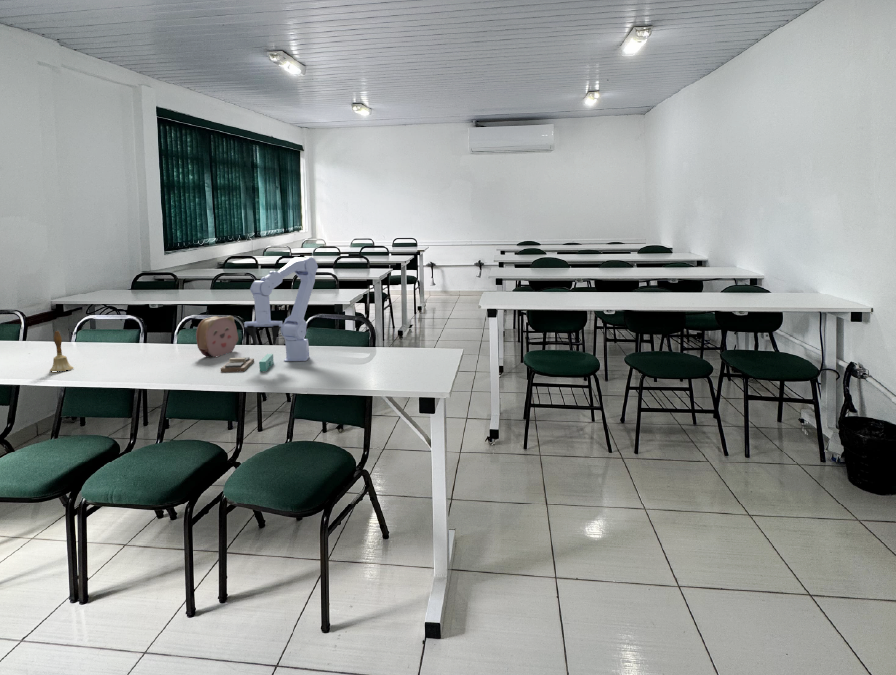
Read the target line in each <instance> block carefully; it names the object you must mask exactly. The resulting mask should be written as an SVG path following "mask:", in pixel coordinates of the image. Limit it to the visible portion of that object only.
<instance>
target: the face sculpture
mask: <svg viewBox="0 0 896 675" xmlns="http://www.w3.org/2000/svg"><path fill="white" fill-rule="evenodd" d="M195 339H196V344H197V348H198V350H199V352H200V354H201V355H202V356H205V357H207V356H208V357H213V358H217V357H216V356H218V357H221V356H224V355H223V354H225V355H227V354H226V353H228V354H230V353H229V352H231V353H232V352H233V351H234V349H235V348H236V345H237V344H238V342H239V334H238V330H237V325H236V323H235V318H234V316H233V315H228V316H222V317H221V316H217V315H216V316H210V317H207V318H204V319H202V320H201V321H200V322H199V323H198V325H197V327H196V331H195ZM210 355H211V356H210ZM220 355H221V356H220Z"/></svg>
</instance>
